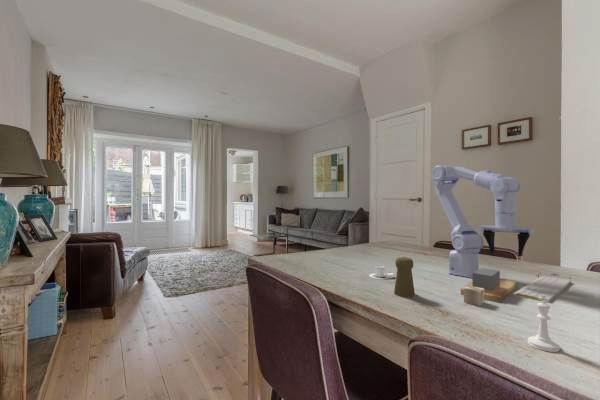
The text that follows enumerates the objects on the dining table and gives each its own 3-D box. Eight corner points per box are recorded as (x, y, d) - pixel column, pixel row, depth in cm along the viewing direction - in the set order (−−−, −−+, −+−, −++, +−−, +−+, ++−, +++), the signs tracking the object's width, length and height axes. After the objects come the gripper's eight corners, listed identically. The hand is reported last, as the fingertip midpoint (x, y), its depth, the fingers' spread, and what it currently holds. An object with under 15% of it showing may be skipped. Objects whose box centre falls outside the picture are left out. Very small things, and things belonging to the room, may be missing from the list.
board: (460, 294, 89) (460, 289, 89) (482, 280, 104) (482, 275, 104) (499, 302, 82) (499, 297, 82) (516, 286, 97) (516, 281, 97)
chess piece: (550, 354, 55) (551, 300, 55) (522, 342, 59) (522, 292, 59) (565, 348, 57) (565, 297, 57) (536, 337, 61) (536, 289, 61)
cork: (389, 292, 91) (389, 256, 91) (404, 289, 94) (404, 255, 94) (403, 298, 86) (403, 260, 86) (419, 295, 88) (419, 258, 88)
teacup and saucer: (397, 278, 108) (397, 267, 108) (383, 282, 103) (383, 270, 103) (379, 273, 115) (379, 263, 115) (364, 276, 111) (364, 265, 111)
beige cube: (468, 299, 85) (463, 302, 82) (468, 285, 85) (463, 288, 82) (484, 302, 82) (479, 306, 79) (484, 288, 82) (480, 291, 79)
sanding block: (472, 289, 89) (472, 272, 89) (481, 283, 95) (481, 267, 95) (491, 293, 85) (491, 276, 85) (499, 286, 92) (499, 270, 91)
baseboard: (506, 295, 90) (549, 305, 82) (506, 286, 90) (549, 294, 82) (534, 278, 109) (571, 284, 101) (534, 270, 109) (571, 276, 101)
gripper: (477, 213, 100) (477, 253, 100) (530, 214, 90) (531, 258, 89) (483, 212, 105) (483, 250, 105) (534, 213, 94) (535, 255, 94)
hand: (506, 254), depth 97 cm, fingers open, 7 cm apart
